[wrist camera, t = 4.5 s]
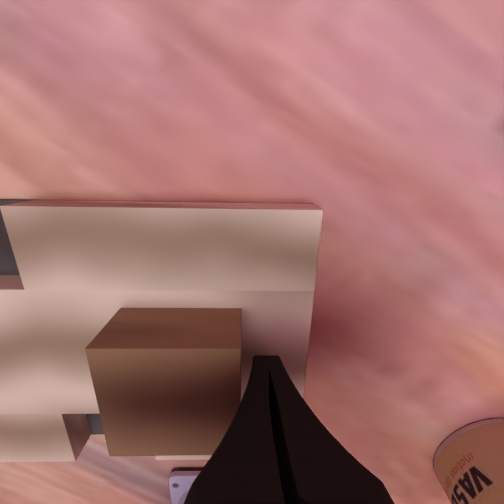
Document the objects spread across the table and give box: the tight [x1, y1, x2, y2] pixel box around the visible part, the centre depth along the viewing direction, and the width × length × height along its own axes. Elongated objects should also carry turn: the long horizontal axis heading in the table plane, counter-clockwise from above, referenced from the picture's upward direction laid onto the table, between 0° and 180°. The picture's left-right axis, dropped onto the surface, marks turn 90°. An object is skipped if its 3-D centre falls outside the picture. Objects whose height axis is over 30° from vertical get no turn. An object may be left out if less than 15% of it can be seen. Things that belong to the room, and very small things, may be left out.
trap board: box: [0, 199, 323, 462], centre depth 15 cm, size 16×26×2 cm, turn 89°
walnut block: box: [85, 308, 242, 456], centre depth 12 cm, size 6×6×3 cm
